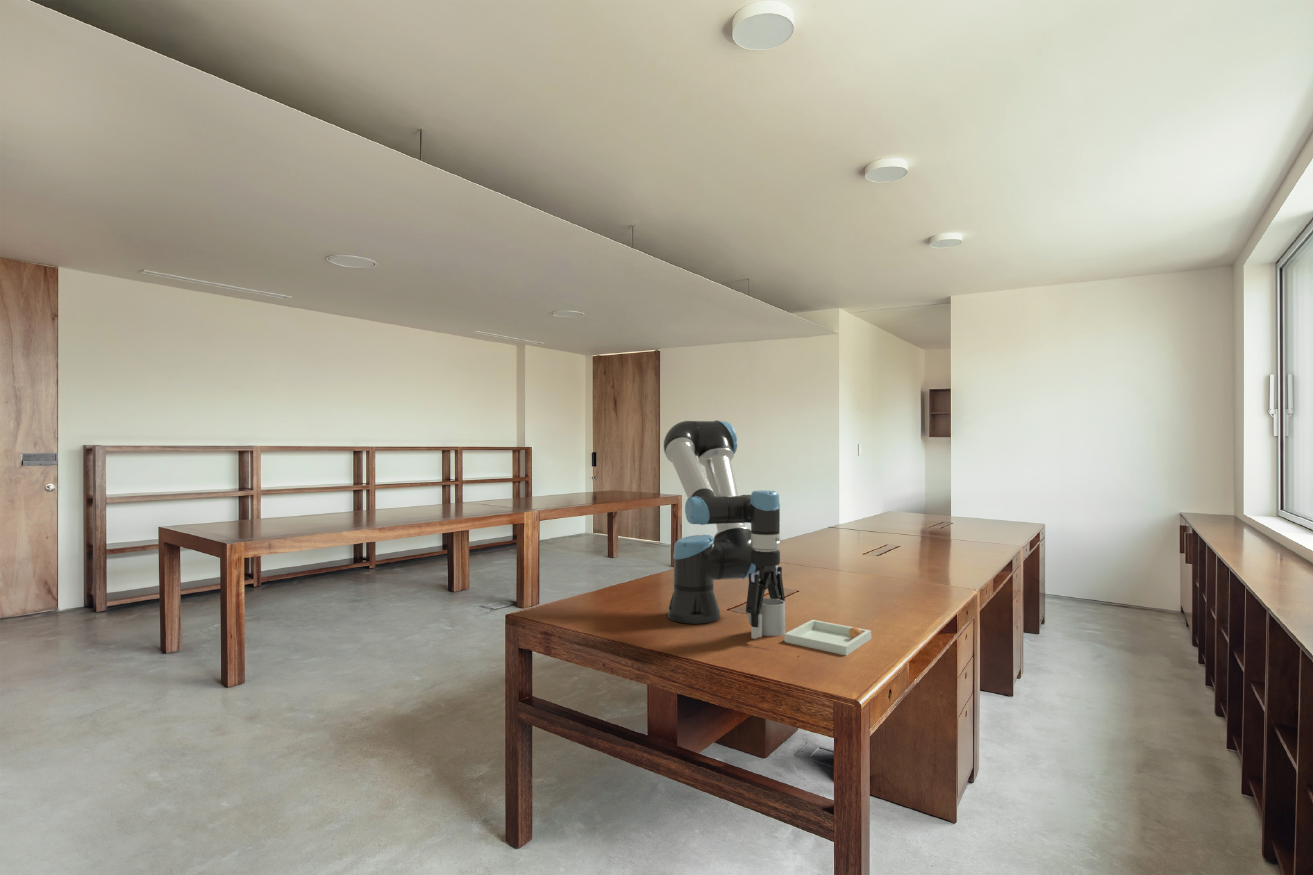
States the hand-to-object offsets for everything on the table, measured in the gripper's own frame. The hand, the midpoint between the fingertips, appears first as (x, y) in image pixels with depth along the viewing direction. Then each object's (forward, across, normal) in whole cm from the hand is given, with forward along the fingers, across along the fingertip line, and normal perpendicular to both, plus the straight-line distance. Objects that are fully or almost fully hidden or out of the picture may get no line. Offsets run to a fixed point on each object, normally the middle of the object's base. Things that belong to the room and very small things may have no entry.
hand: (766, 634), depth 162 cm
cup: (0, 0, 0) cm, 0 cm away
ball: (-1, +8, -21) cm, 22 cm away
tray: (0, +3, -16) cm, 16 cm away
